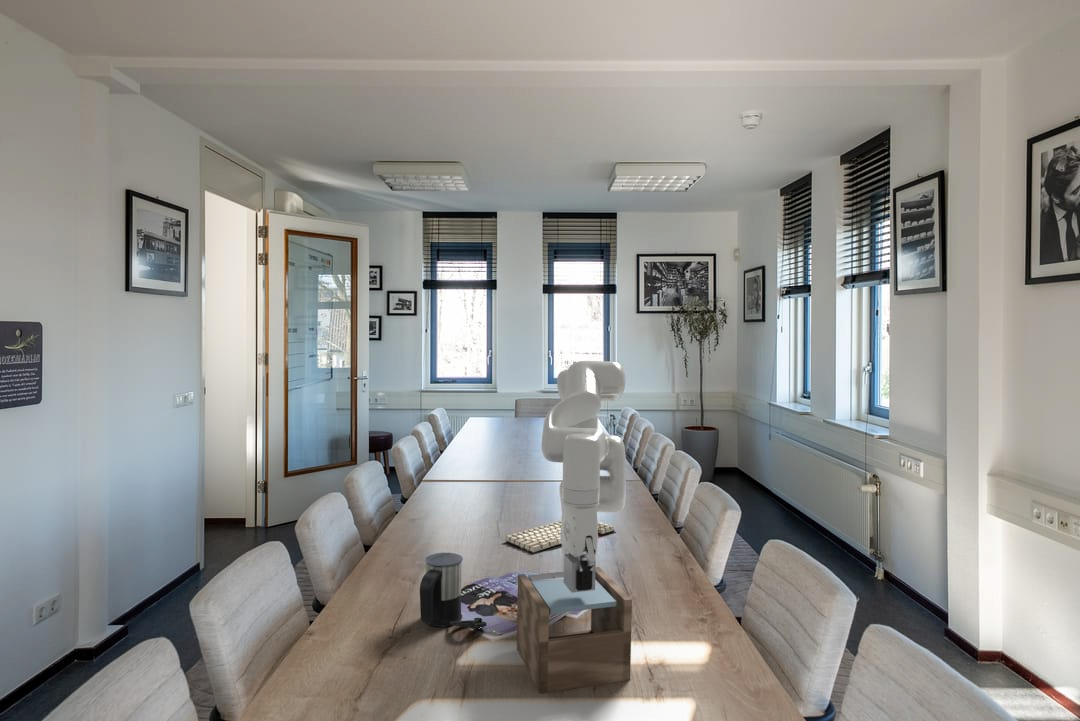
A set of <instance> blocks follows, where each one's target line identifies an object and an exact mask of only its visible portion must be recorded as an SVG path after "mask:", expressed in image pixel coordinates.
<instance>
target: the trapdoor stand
mask: <svg viewBox="0 0 1080 721" xmlns="http://www.w3.org/2000/svg"><path fill="white" fill-rule="evenodd" d="M595 580H596V581H597V582H598V583H599V584H600V585H601V586H602V587H603V588H604V589H605V590H606V591H607V592H608V593H609V594H610V595H611V596H612V597H613V598H614V599H615V600H616V606H614V607H605V608H596V609H590V630H581V631H580V630H579V631H573V632H565V633H557V634H556V633H555V634H549V633H550V632H549V627H550V623H549V622H550V613H549V608H548V606H547V605H546V604H545V602H544V601H543V599H542V598H541V596H540V595H539V593H538V592H537V591H536V589H535V588H534V586H533V585H532V583H531V582H530V580H529V579H528V576H527V575H526V573H519V574H517V600H516V601H517V602H516V603H517V604H516V606H517V608H516V610H517V611H516V613H517V614H516V650H517V652H518V653H519V656H520V657H521V659H522V662H523V663H524V665H525V667H526V670H527V672H528V674H529V675H530V678H531V680H532V681H533V683H534V686H535V687H536V689H537V692H538V694H546V693H551V692H559V691H564V690H572V689H578V688H584V687H585V688H586V687H591V686H597V685H604V684H611V683H618V682H619V683H620V682H625V681H630V680H631V659H632V658H631V657H632V655H631V653H632V623H633V622H632V617H633V615H632V614H633V599H632V598H631V597H630V596H629V595H628V594H627V592H625V591H624V590H623V589H622V587H620V586H619V585H618V584H617V583H616V582H615V581H614V580H613V579H612V578H611V577H610V576H609V575H608V574H607V573H606V572H605V571H604V570H603V569H601V567H599V566H597V567H596V568H595Z"/></svg>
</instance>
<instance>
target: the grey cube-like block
mask: <svg viewBox="0 0 1080 721" xmlns="http://www.w3.org/2000/svg"><path fill="white" fill-rule="evenodd" d="M582 554H586V552H583V553H582ZM586 559H587V558H582V563H583V562H584V561H585V560H586ZM595 568H596V562H595V563H594V565H593V571H592V589H590V590H581V591H578V590H577V589H576V570H578V559H577V557H574V556H572V555H571V554H564V584H565V585H566V586H567V588H568V589H569V590H570V591H571V593H573V592H582V591H591V590H595Z"/></svg>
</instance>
